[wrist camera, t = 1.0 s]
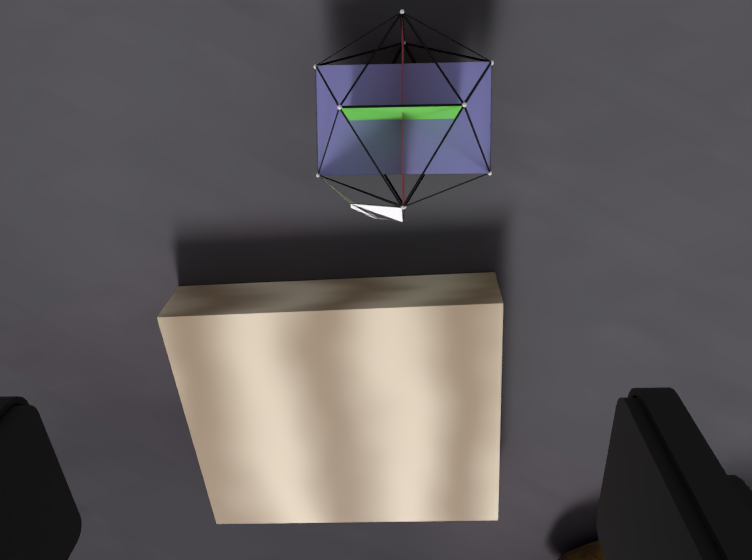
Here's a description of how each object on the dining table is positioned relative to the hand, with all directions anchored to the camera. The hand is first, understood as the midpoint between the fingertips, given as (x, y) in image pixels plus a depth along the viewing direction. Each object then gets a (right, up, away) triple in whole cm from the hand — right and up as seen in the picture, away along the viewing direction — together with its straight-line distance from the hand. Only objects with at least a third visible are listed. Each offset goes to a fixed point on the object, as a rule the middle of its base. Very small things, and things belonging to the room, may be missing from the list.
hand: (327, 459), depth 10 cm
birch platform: (-1, -3, +24) cm, 24 cm away
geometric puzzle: (+2, +11, +17) cm, 20 cm away
